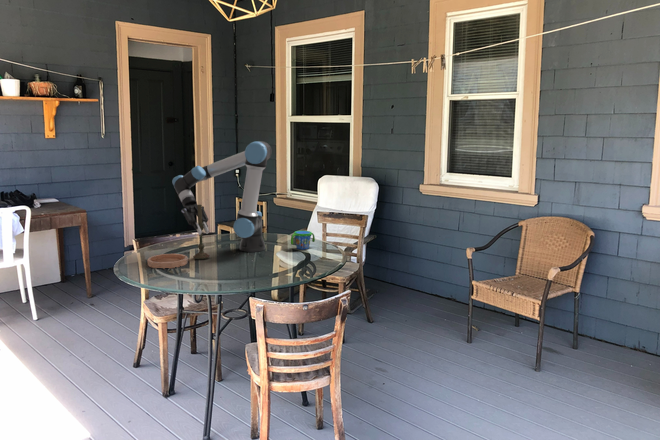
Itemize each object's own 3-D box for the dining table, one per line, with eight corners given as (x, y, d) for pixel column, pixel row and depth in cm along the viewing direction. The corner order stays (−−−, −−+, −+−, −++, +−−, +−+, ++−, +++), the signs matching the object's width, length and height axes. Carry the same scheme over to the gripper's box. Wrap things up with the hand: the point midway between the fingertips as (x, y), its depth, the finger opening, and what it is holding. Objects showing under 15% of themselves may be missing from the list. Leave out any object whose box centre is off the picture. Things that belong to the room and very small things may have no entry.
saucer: (188, 258, 291) (188, 253, 290) (186, 267, 271) (185, 262, 271) (150, 259, 287) (150, 254, 286) (145, 269, 267) (145, 263, 267)
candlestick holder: (205, 259, 286) (203, 204, 280) (190, 258, 287) (187, 204, 282) (212, 255, 294) (210, 202, 289) (197, 254, 296) (195, 202, 291)
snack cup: (311, 245, 325) (311, 229, 323) (318, 249, 316) (318, 232, 314) (287, 248, 318) (287, 231, 317) (294, 251, 309) (294, 234, 307)
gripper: (199, 202, 303) (215, 235, 294) (171, 205, 291) (188, 239, 282) (203, 194, 298) (220, 227, 289) (176, 196, 287) (192, 230, 278)
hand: (204, 232), depth 286 cm, fingers closed on candlestick holder, 4 cm apart
